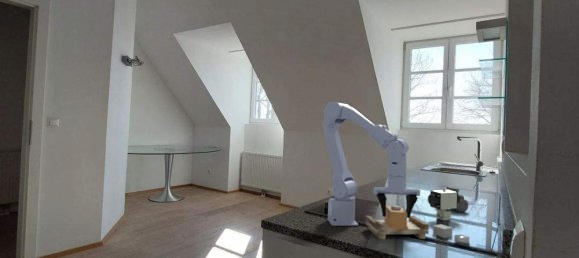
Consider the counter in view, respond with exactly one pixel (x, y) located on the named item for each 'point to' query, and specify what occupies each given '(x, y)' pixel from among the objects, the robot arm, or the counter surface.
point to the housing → (396, 217)
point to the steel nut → (461, 239)
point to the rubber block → (442, 231)
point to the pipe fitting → (463, 204)
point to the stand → (383, 228)
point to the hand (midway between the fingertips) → (395, 216)
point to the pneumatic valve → (443, 202)
